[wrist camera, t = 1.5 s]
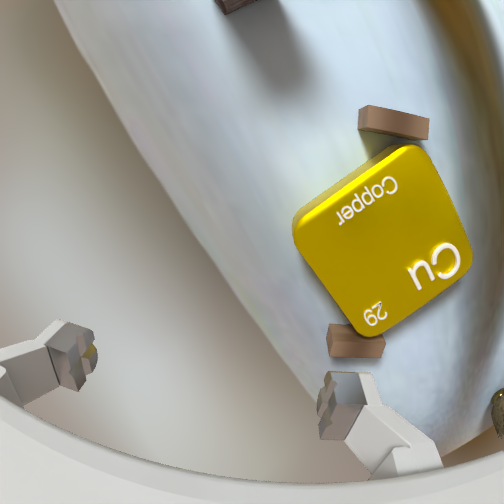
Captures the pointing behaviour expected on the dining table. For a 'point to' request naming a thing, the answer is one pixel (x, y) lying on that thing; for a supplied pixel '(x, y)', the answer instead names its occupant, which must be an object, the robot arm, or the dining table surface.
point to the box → (232, 4)
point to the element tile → (384, 239)
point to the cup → (498, 412)
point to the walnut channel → (396, 124)
